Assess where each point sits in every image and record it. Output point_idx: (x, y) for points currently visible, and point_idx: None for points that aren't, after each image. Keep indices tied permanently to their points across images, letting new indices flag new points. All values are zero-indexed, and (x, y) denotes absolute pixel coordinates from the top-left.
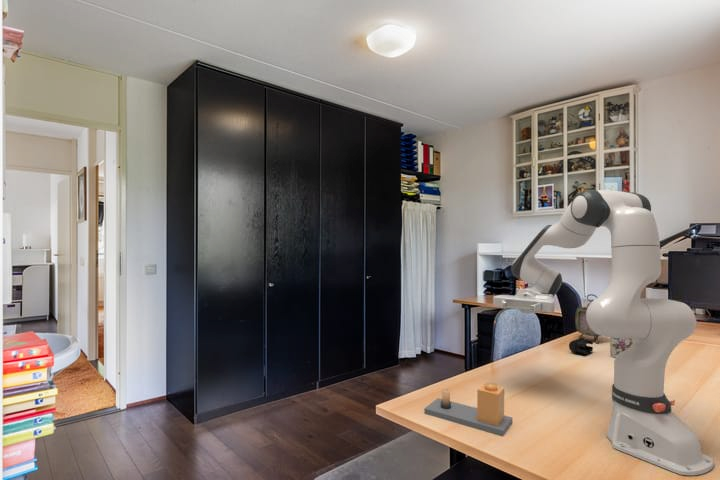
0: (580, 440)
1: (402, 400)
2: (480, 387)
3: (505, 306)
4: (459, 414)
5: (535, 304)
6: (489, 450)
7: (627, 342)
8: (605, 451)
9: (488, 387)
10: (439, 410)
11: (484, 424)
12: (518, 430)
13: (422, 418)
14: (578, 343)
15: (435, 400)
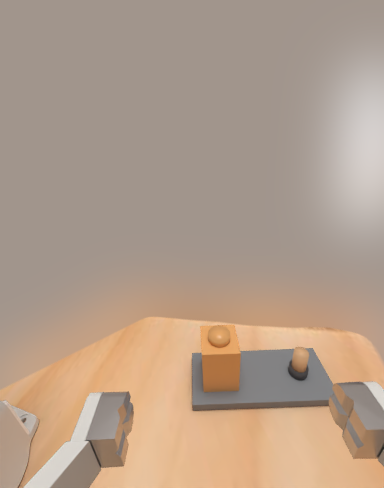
0: None
1: (378, 371)
2: (235, 334)
3: (332, 401)
4: (263, 360)
5: (79, 436)
6: (195, 324)
7: None
8: (57, 402)
9: (218, 326)
10: (292, 355)
11: None
12: (178, 388)
13: (298, 340)
14: None
15: (332, 385)
